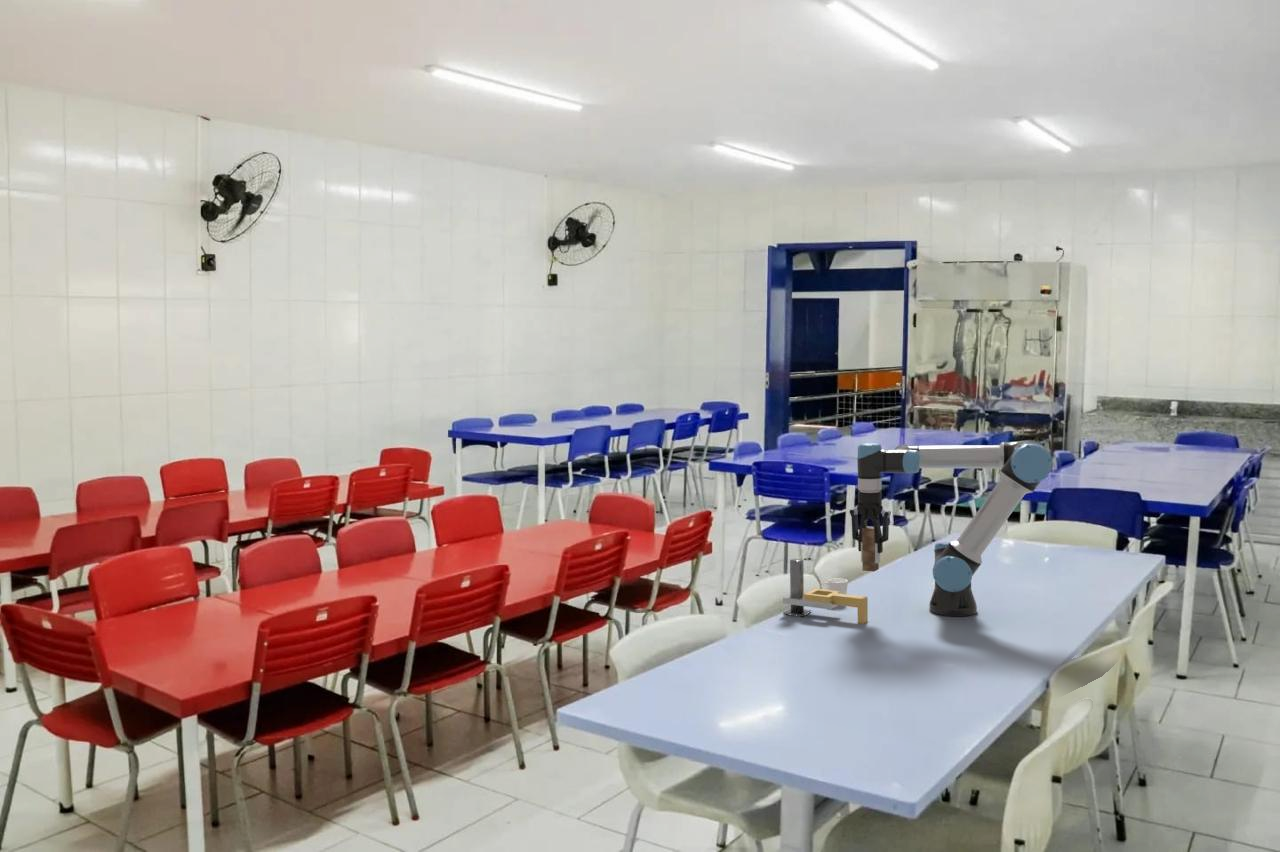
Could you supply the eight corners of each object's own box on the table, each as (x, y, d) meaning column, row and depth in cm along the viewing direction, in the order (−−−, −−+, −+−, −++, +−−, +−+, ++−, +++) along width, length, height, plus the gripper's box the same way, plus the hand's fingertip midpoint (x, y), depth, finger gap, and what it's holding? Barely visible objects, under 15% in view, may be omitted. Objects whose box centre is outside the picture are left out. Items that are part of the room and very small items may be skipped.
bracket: (870, 619, 343) (870, 594, 343) (860, 625, 336) (860, 600, 335) (815, 612, 354) (815, 588, 353) (804, 618, 346) (803, 594, 346)
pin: (878, 569, 345) (878, 526, 344) (874, 571, 342) (873, 528, 341) (867, 568, 347) (866, 526, 346) (862, 570, 344) (862, 528, 343)
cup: (847, 606, 361) (846, 583, 360) (817, 604, 364) (817, 581, 363) (849, 601, 367) (849, 578, 367) (820, 599, 371) (820, 577, 370)
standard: (841, 615, 349) (841, 561, 347) (831, 621, 341) (830, 566, 340) (793, 609, 358) (792, 556, 357) (781, 615, 351) (781, 561, 349)
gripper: (899, 490, 341) (899, 562, 343) (849, 488, 351) (850, 557, 352) (891, 493, 335) (891, 566, 337) (840, 491, 344) (841, 561, 346)
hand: (870, 561), depth 344 cm, fingers closed on pin, 4 cm apart
